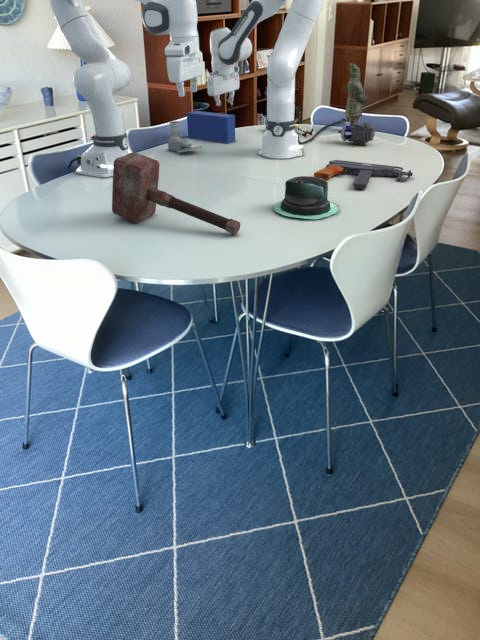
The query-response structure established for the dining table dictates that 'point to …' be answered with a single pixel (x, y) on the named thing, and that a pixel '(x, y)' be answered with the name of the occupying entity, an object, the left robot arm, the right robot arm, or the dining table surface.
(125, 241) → the dining table surface
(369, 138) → the toy
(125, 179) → the sledgehammer
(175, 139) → the grey boot
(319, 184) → the green fedora hat
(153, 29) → the left robot arm
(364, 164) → the submachine gun
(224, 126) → the box
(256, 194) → the dining table surface
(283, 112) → the right robot arm
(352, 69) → the statue
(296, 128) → the figurine
